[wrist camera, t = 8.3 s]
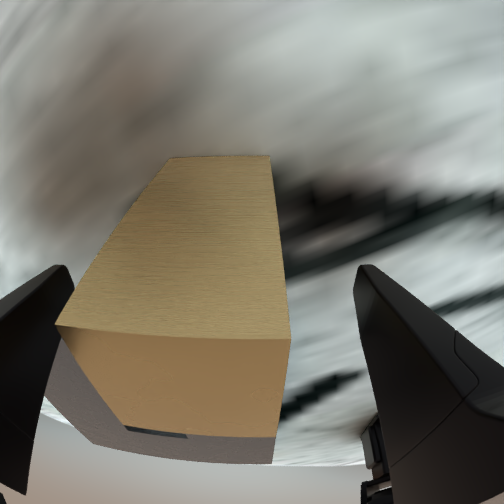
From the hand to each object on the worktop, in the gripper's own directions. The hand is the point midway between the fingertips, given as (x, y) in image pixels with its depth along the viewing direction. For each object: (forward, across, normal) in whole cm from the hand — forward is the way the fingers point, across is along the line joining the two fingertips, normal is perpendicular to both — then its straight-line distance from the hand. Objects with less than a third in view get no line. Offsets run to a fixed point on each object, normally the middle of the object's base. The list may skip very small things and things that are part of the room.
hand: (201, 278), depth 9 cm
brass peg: (+5, 0, 0) cm, 5 cm away
